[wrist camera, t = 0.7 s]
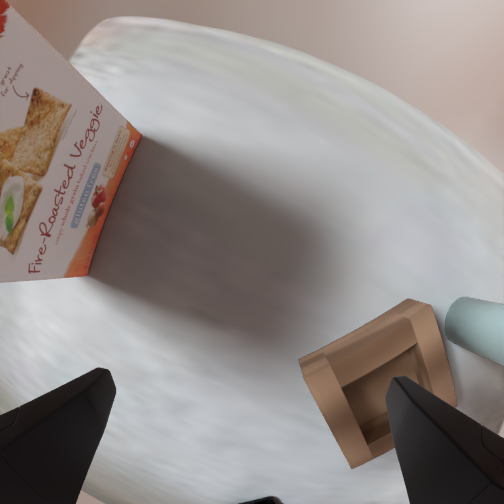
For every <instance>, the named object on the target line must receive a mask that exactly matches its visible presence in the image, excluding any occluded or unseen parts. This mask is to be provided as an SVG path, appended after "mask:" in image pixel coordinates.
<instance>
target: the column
mask: <svg viewBox="0 0 504 504" xmlns="http://www.w3.org/2000/svg"><path fill="white" fill-rule="evenodd" d="M445 333H446V336H447V338H448V339H449V340H450V341H451V342H452V343H455V344H457V345H459V346H461V347H463V348H465V349H468V350H470V351H472V352H474V353H476V354H478V355H480V356H483V357H485V358H487V359H489V360H491V361H493V362H495V363H498V364H500V365H502V366H504V304H501V303H495V302H490V301H485V300H480V299H475V298H469V297H462V298H459V299H457V300H456V301H455V302H454V303H453V304H452V305H451V307H450V308H449V310H448V312H447V315H446V318H445Z"/></svg>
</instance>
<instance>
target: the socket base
mask: <svg viewBox="0 0 504 504" xmlns="http://www.w3.org/2000/svg"><path fill="white" fill-rule="evenodd" d="M299 363H300V367H301V370H302V374H303V378H304V380H305V382H306V384H307V386H308V388H309V390H310V392H311V394H312V395H313V397H314V399H315V401H316V403H317V405H318V407H319V409H320V411H321V413H322V414H323V416H324V418H325V420H326V422H327V424H328V426H329V428H330V430H331V431H332V433H333V435H334V437H335V439H336V441H337V443H338V445H339V446H340V448H341V450H342V452H343V454H344V456H345V458H346V459H347V461H348V463H349V465H350V467H351V469H354V468H356V467H358V466H360V465H362V464H364V463H366V462H368V461H370V460H372V459H374V458H376V457H378V456H380V455H382V454H384V453H386V452H388V451H389V450H391V449H393V448H395V446H394V442H393V438H392V433H391V428H390V422H389V417H388V411H387V406H386V400H385V399H386V393H387V391H388V388H389V385H390V382H391V379H392V378H393V377H395V376H401V375H405V376H407V377H408V378H410V379H411V380H413V381H414V382H416V383H417V384H419V385H421V386H422V387H424V388H425V389H427V390H428V391H430V392H431V393H433V394H434V395H436V396H437V397H439V398H440V399H442V400H443V401H445V402H447V403H448V404H450V405H451V406H453V407H454V408H455V407H457V400H456V395H455V390H454V386H453V381H452V377H451V372H450V368H449V364H448V360H447V356H446V352H445V349H444V345H443V342H442V338H441V335H440V331H439V328H438V325H437V322H436V319H435V316H434V312H433V309H432V307H431V305H429V304H426V303H422V302H419V301H415V300H412V299H406V300H405V301H403V302H401V303H400V304H398V305H397V306H395V307H394V308H392V309H390V310H389V311H387V312H385V313H384V314H382V315H380V316H379V317H377V318H375V319H374V320H372V321H370V322H369V323H367V324H365V325H363V326H362V327H360V328H358V329H356V330H355V331H353V332H351V333H349V334H347V335H345V336H344V337H342V338H340V339H338V340H336V341H334V342H332V343H330V344H329V345H327V346H325V347H323V348H321V349H319V350H317V351H315V352H313V353H311V354H309V355H307V356H305V357H303V358H301V359H299Z"/></svg>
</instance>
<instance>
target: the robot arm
mask: <svg viewBox="0 0 504 504" xmlns="http://www.w3.org/2000/svg"><path fill="white" fill-rule="evenodd" d="M115 395H116V386H115V384H114V381H113V378H112V375H111V373H110V371H109V370H108V369H105V368H96V369H94V370H92V371H90V372H88V373H86V374H84V375H82V376H80V377H78V378H76V379H74V380H72V381H70V382H68V383H66V384H64V385H62V386H60V387H58V388H56V389H54V390H52V391H50V392H48V393H46V394H44V395H42V396H40V397H38V398H36V399H34V400H32V401H30V402H28V403H26V404H23V405H21V406H20V407H17V408H15V409H13V410H11V411H9V412H6V413H4V414H2V415H0V504H76V502H77V499H78V496H79V493H80V491H81V488H82V485H83V483H84V480H85V477H86V475H87V472H88V470H89V467H90V465H91V462H92V460H93V457H94V455H95V452H96V450H97V447H98V445H99V442H100V440H101V438H102V435H103V433H104V430H105V427H106V424H107V421H108V418H109V414H110V411H111V408H112V405H113V401H114V398H115ZM385 400H386V406H387V411H388V417H389V422H390V428H391V433H392V438H393V442H394V446H395V450H396V453H397V456H398V460H399V463H400V467H401V471H402V474H403V478H404V482H405V485H406V489H407V493H408V497H409V501H410V504H504V438H502V437H500V436H499V435H497V434H495V433H494V432H492V431H490V430H489V429H487V428H486V427H484V426H481V424H479V423H478V422H476V421H474V420H473V419H471V418H470V417H468V416H467V415H465V414H464V413H462V412H460V411H459V410H457V409H456V408H454V407H453V406H451V405H450V404H448V403H447V402H445V401H443V400H442V399H440V398H439V397H437V396H436V395H434V394H433V393H431V392H430V391H428V390H427V389H425V388H424V387H422V386H421V385H419V384H417V383H416V382H414V381H413V380H411V379H410V378H408V377H407V376H405V375H401V376H395V377H393V378H392V379H391V382H390V385H389V388H388V391H387V393H386V399H385ZM269 500H270V501H269ZM240 504H278V503H277V502H276V500H275V499H274V498H273V497H266V498H262V499H258V500H254V501H250V502H245V503H240Z"/></svg>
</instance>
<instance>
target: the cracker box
mask: <svg viewBox="0 0 504 504" xmlns="http://www.w3.org/2000/svg"><path fill="white" fill-rule="evenodd" d="M141 136H142V135H141V134H140V133H139V132H138V131H137V130H136V129H135V128H134V127H133V126H132V125H131V123H130V122H128V121H127V120H126V119H125V118H124V117H123V116H122V115H121V114H120V113H119V112H118V111H117V110H116V109H115V108H114V107H113V106H112V105H111V104H110V103H109V102H108V101H107V100H106V99H105V98H104V97H103V96H102V95H101V94H100V93H99V92H98V91H97V90H96V89H95V88H94V87H93V86H92V85H91V84H90V83H89V82H88V81H87V80H86V79H85V78H84V77H83V76H82V75H81V74H80V73H79V72H78V71H77V70H76V69H75V68H74V67H73V66H72V65H71V64H70V63H69V62H68V61H67V60H66V59H65V58H64V57H63V56H62V55H60V53H59V52H58V51H57V50H55V49H54V47H53V46H51V45H50V44H49V42H48V41H46V39H45V38H43V37H42V36H41V35H40V34H39V33H38V32H37V31H36V30H35V29H34V28H33V27H32V26H31V25H30V24H29V23H28V22H27V21H26V20H24V19H23V18H22V17H21V16H20V15H19V14H18V13H17V12H16V10H14V9H13V8H12V7H11V6H10V5H9V4H8V3H7V2H6V1H5V0H0V283H3V282H17V281H31V280H46V279H58V278H69V277H80V276H87V275H88V270H89V267H90V263H91V260H92V257H93V253H94V250H95V248H96V245H97V242H98V238H99V235H100V232H101V230H102V227H103V224H104V221H105V219H106V216H107V213H108V211H109V208H110V205H111V203H112V200H113V198H114V196H115V193H116V191H117V188H118V186H119V183H120V181H121V179H122V176H123V174H124V172H125V170H126V167H127V165H128V163H129V161H130V159H131V157H132V155H133V152H134V150H135V148H136V146H137V144H138V142H139V140H140V138H141Z"/></svg>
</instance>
